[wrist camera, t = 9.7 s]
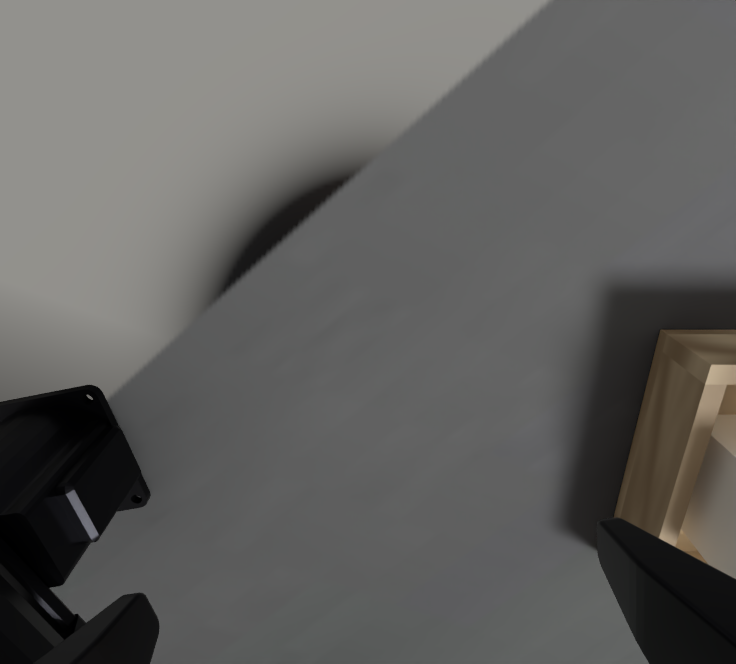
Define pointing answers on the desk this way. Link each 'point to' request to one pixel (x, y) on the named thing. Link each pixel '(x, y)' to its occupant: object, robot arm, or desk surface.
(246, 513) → the desk surface
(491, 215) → the desk surface
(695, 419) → the tray
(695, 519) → the stand
